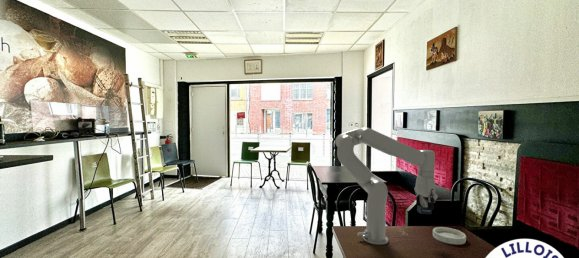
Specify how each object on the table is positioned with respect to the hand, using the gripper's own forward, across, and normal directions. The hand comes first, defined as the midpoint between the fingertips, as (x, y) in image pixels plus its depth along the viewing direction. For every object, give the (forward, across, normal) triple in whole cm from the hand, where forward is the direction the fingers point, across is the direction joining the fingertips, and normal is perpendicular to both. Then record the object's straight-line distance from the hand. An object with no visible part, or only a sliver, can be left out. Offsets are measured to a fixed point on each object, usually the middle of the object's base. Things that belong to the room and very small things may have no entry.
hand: (424, 206), depth 143 cm
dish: (+18, 0, +15) cm, 23 cm away
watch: (+3, 0, 0) cm, 3 cm away
